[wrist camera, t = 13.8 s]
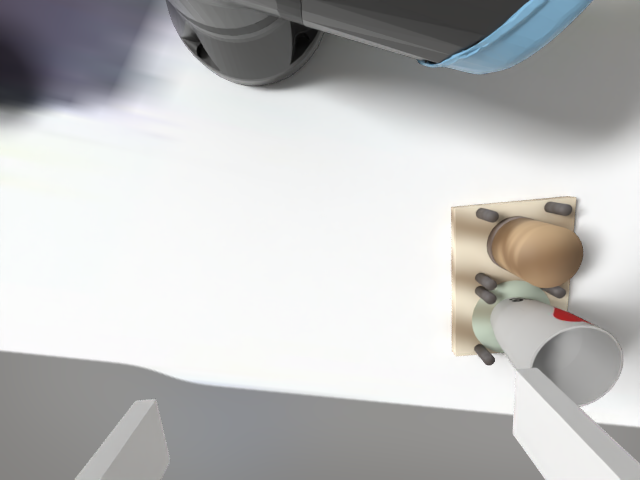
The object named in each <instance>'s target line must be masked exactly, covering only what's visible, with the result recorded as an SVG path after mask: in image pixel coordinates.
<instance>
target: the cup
mask: <svg viewBox="0 0 640 480" xmlns="http://www.w3.org/2000/svg"><path fill="white" fill-rule="evenodd" d="M490 322H491V326H492V329H493V331H494V334H495V337H496V340H497V342H498V343H499V345H500V347H501V348H502V350H503V351H504V353H505V354H506V356H507V358H508V359H509V361H510V362H511V364H512V365H513V367H514V368H515V369H527V368H538V369H539V370H540V371H541V372H542V373H543V374H544V375H545V376H546V377H547V378H549V379H550V380H551V381H552V382H553V383H554V384H555V385H556V386H557V387H558V388H559V389H560V390H561V391H562V392H564V393H565V394H566V395H567V396H568V397H569V398H570V399H571V400H572V401H573V402H574V403H575V404H576V405H577V406H578V407H581V406H585V405H588V404H590V403H593V402H595V401H596V400H598V399H600V398H601V397H603V396H604V395H605V394H606V393H607V392H609V391H610V389H611V388H612V387H613V386H614V385H615V383H616V382H617V380H618V378H619V376H620V374H621V371H622V367H623V353H622V350H621V347H620V345H619V343H618V341H617V340H616V339H615V338H614V337H613V336H612V335H611V334H610V333H608V332H607V331H605V330H603V329H601V328H599V327H597V326H595V325H593V324H591V323H589V322H587V321H585V320H583V319H581V318H579V317H577V316H575V315H573V314H571V313H569V312H567V311H565V310H562V309H559V308H557V307H554V306H551V305H548V304H545V303H543V302H540V301H537V300H531V299H525V298H519V297H510V298H507V299H504V300H502V301H501V302H499V303H498V304H497V305H496V306H495V307H494V309H493V311H492V313H491V317H490Z"/></svg>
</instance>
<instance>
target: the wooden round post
mask: <svg viewBox="0 0 640 480" xmlns="http://www.w3.org/2000/svg"><path fill="white" fill-rule="evenodd" d="M487 253H488V255H489V257H490V259H491V260H492V262H493V263H494V264H496V265H497V266H499V267H501V268H502V269H504V270H507V271H509V272H510V273H512V274H514V275H516V276H517V277H519V278H521V279H523V280H524V281H526V282H528V283H530V284H532V285H533V286H536V287H540V288H552V287H556V286H559V285H561V284H563V283H565V282H567V281H568V280H569V279H571V278H572V277H573V276H574V275H575V273H576V272H577V271H578V269H579V267H580V265H581V262H582V259H583V247H582V243H581V241H580V239H579V238H578V236H577V235H576V234H575V233H574V232H572V231H571V230H569V229H567V228H564V227H560V226H556V225H552V224H548V223H544V222H541V221H537V220H534V219H531V218H527V217H523V216H513V217H509V218H506V219H504V220H502V221H500V222H499V223H498V224H497V225H496V226H495V227H494V228H493V229H492V231H491V232H490V234H489V236H488V240H487Z"/></svg>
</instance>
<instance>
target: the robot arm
mask: <svg viewBox="0 0 640 480" xmlns="http://www.w3.org/2000/svg"><path fill="white" fill-rule="evenodd" d="M592 1H593V0H166V3H167V7H168V11H169V14H170V17H171V20H172V22H173V25H174V27H175V29H176V31H177V33H178V34H179V36H180V38H181V40H182V41H183V43H184V44H185V45H186V47H187V48H188V49H189V51H190V52H191V53H192V54H193V55H194V56H195V57H196V58H197V59H198V60H199V61H200V62H201V63H202V64H204V65H205V66H206V67H207V68H208V69H210V70H211V71H212V72H214V73H215V74H217V75H218V76H220V77H222V78H224V79H226V80H229V81H231V82H234V83H238V84H243V85H250V86H259V85H267V84H272V83H275V82H278V81H281V80H283V79H285V78H287V77H289V76H290V75H292V74H294V73H295V72H296V71H298V70H299V69H300V68H301V67H302V66H303V65H304V64H305V63H306V62H307V61H308V60H309V59H310V57H311V56H312V55H313V53H314V52H315V50H316V48H317V47H318V45H319V43H320V40H321V38H322V36H323V33H324V32H327V33H330V34H333V35H337V36H340V37H344V38H347V39H350V40H354V41H357V42H360V43H364V44H367V45H371V46H374V47H377V48H381V49H384V50H388V51H391V52H394V53H398V54H401V55H404V56H408V57H411V58H415V59H417V61H418V63H420V64H422V65H424V66H427V67H447V68H451V69H455V70H459V71H463V72H468V73H472V74H487V73H490V72H498V71H500V70H505V69H508V68H510V67H512V66H514V65H516V64H518V63H520V62H522V61H523V60H525V59H527V58H528V57H530V56H531V55H533V54H534V53H536V52H537V51H539V50H540V49H541V48H543V47H544V46H545V45H547V44H548V43H549V42H550V41H552V40H553V39H554V38H555V37H556V36H557V35H559V34H560V33H561V32H562V31H563V30H564V29H565V28H566V27H567V26H568V25H569V24H570V23H572V22H573V21H574V20H575V19H576V18H577V17H578V16H579V15H580V14H581V13H582V12H583V11H584V10H585V9H586V7H587V6H588V5H589V4H590V3H591V2H592ZM513 418H514V419H513V435H514V436H515V438H516V439H517V440H518V442H519V443H520V445H521V446H522V447H523V449H524V450H525V452H526V453H527V454H528V456H529V457H530V459H531V460H532V461H533V463H534V464H535V466H536V467H537V468H538V470H539V471H540V472H541V474H542V475H543V477H544V478H545V479H546V480H640V464H639V463H638V462H637V461H636V460H635V459H634V458H633V457H632V456H631V455H630V454H629V453H628V452H627V451H626V450H624V449H623V448H622V447H621V446H620V445H619V444H618V443H617V442H616V441H615V440H614V439H613V438H611V436H610V435H608V434H607V433H606V432H605V431H604V430H603V429H602V428H601V427H600V426H599V425H598V424H597V423H596V422H595V421H593V420H592V419H591V418H590V417H589V416H588V415H587V414H586V413H585V412H584V411H583V410H582V409H581V408H580V407H578V406H577V405H576V404H575V403H574V402H573V401H572V400H571V399H570V398H569V397H568V396H567V395H566V394H565V393H564V392H562V391H561V390H560V389H559V388H558V387H557V386H556V385H555V384H554V383H553V382H552V381H551V380H550V379H549V378H547V377H546V376H545V375H544V374H543V373H542V372H541V371H540V370H539V369H538V368H527V369H516V371H515V394H514V417H513ZM169 463H170V457H169V453H168V449H167V444H166V439H165V435H164V431H163V427H162V423H161V418H160V414H159V409H158V405H157V401H156V399H153V400H140V401H135V402H134V404H133V405H132V406H131V407H130V409H129V410H128V411H127V413H126V414H125V415H124V417H123V418H122V419H121V421H120V422H119V423H118V424H117V426H116V427H115V428H114V430H113V431H112V432H111V433H110V435H109V436H108V437H107V438H106V440H105V441H104V442H103V443H102V445H101V446H100V447H99V449H98V450H97V451H96V453H95V454H94V455H93V456H92V458H91V459H90V460H89V462H88V463H87V464H86V465H85V467H84V468H83V469H82V471H81V472H80V473H79V474H78V476H77V477H76V478H75V480H161V479H162V477H163V475H164V473H165V471H166V469H167V467H168V465H169Z"/></svg>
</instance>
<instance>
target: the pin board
mask: <svg viewBox="0 0 640 480" xmlns="http://www.w3.org/2000/svg"><path fill="white" fill-rule="evenodd" d="M575 208H576V197H570V196H566V197H555V198H544V199H533V200H522V201H511V202H500V203H490V204H479V205H468V206H457V207H451V264H452V352H453V353H454V355H455V356H467V355H478V356H479V357H480V358H481V359H482V360H483V362H484V363H485V364H486V365H492V364H493V363H494V362H495V358H494V357H493V356H492V355H491V353H504V351H503V350H502V348H501V347H500V345H499V343H498V342H497V340H496V337H495V334H494V331H493V329H492V326H491V322H490V317H491V313H492V311H493V309H494V307H495V306H496V305H497V304H498V303H499V302H501V301H502V300H504V299H507V298H510V297H519V298H525V299H531V300H537V301H540V302H543V303H545V304H548V305H551V306H554V307H557V308H559V309H562V310H565V311H567V310H568V297H569V284H570V279H569V280H568V281H567V282H565V283H563V284H561V285H559V286H556V287H552V288H540V287H536V286H533V285H532V284H530V283H528V282H526V281H524V280H523V279H521V278H519V277H517V276H516V275H514V274H512V273H510V272H509V271H507V270H504V269H502V268H501V267H499V266H497V265H496V264H494V263H493V262H492V260H491V259H490V257H489V255H488V253H487V240H488V236H489V234H490V232H491V231H492V229H493V228H494V227H495V226H496V225H497V224H498V223H499V222H500V221H502V220H504V219H506V218H509V217H513V216H523V217H527V218H531V219H534V220H537V221H541V222H544V223H548V224H552V225H556V226H560V227H564V228H567V229H569V230H571V231H572V232H574V221H575Z"/></svg>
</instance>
